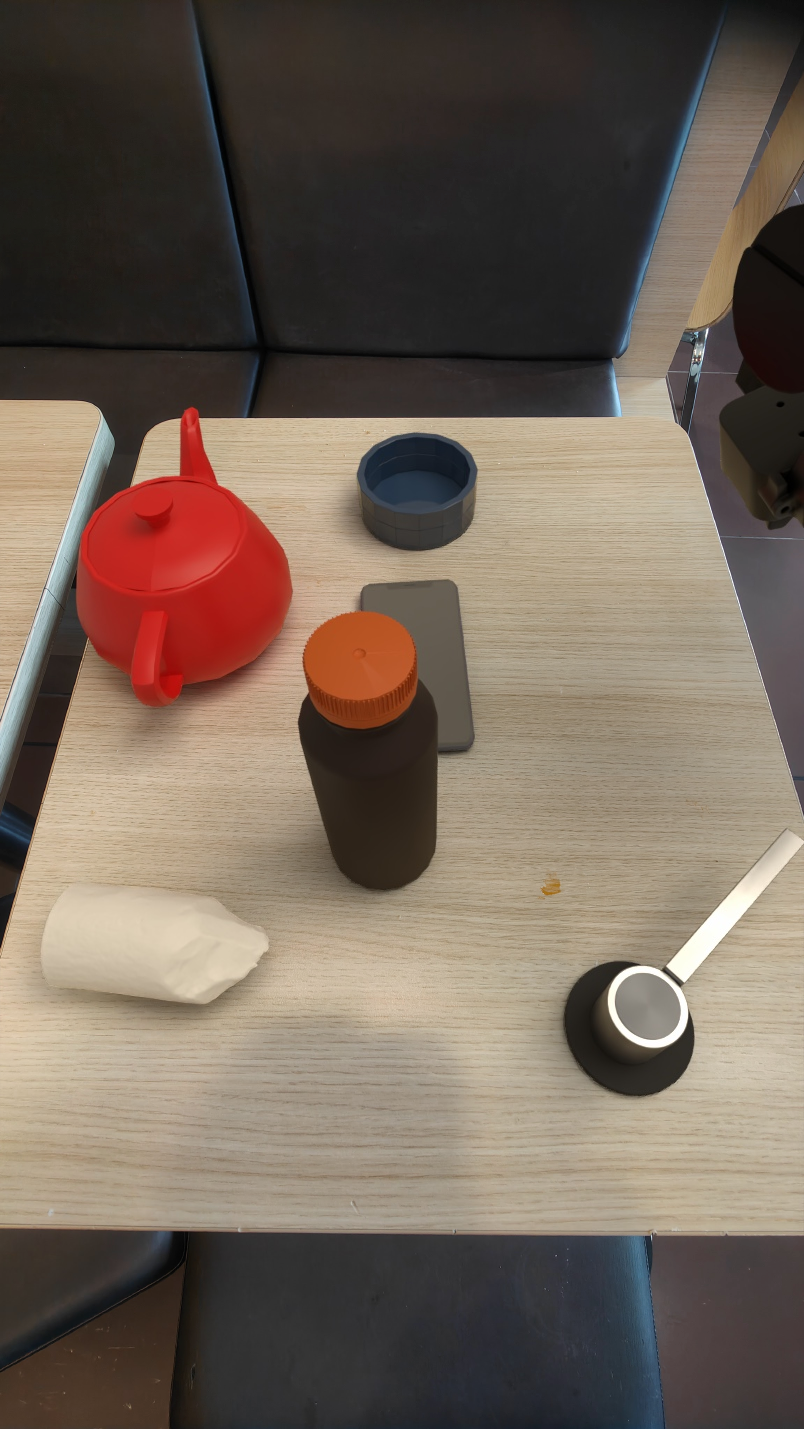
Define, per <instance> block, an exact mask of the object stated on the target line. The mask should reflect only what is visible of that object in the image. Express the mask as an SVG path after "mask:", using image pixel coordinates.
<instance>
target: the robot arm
mask: <svg viewBox="0 0 804 1429" xmlns="http://www.w3.org/2000/svg"><path fill="white" fill-rule="evenodd" d="M732 288H733V289H732V304H731V312H732V323H733V330H734V335H735V339H736V343H737V347H738V348H739V351H740V353H741V356H742V361H741V364H740V367H739V369H738V372H737V375H736V377H735V380H734V383H735V384H736V385H737V387H738V388H739V389H740V391H741V392H742V393H743V395H741V396H739V397H736V398H735V399H733V400H730V401H729V402H727V403H726V405H724V406H723V407H722V409H721V410H720V412H719V415H718V426H719V429H718V430H719V454H720V455H719V457H720V469H721V471H722V473H723V475H724V476H725V477H726V478H727V479H729V481H730V483H731V484H732V485H733V487H734V488H735V490H736V492H737V493H738V494H739V496H740V498H741V500H742V501H743V502H744V506H745V508H746V510H747V512H748V513H749V514H750V515H751V516H752V517H753V518H754V519H757V520H759V521H762V522H764V525H765V527H766V529H767V530H769V531H772V530H778V529H783V528H785V527H786V526H787V525H788V524H789V522H790V521H791V520H792V519H793V518H794V519H796V520H797V522H799V524H800V525H801V527H802V528H803V529H804V202H801V203H799V204H795V205H791V206H788V207H787V208H785V209H783V210H781V211H780V212H777V213H776V214H774V215H773V216H772V217H771V218H770V219H769V220H768V221H767V222H766V223H765V224H764V225H763V226H762V227H761V228H760V230H759V231H758V233H757V234H756V236H755V238H754V239H753V241H752V243H751V244H750V246H747V247H745V248H744V250H743V251H742V255H741V257H740V260H739V262H738V265H737V269H736V273H735V278H734V283H733V287H732Z"/></svg>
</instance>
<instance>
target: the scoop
mask: <svg viewBox="0 0 804 1429" xmlns="http://www.w3.org/2000/svg"><path fill="white" fill-rule="evenodd" d="M803 846H804V839H803V838H802V837H801V836H799V835H797V833H795V832H793V831H792V830H791V829H790V828H789V827H786V828H785V829H783V831H782V832H781V833H780V834H779V835H777V837H776V839H774V840H773V842H772V843H771V844H770V845H769V846H768V848H767V849H766V850H765V851H764V852H763V853H762V854H761V855H760V856H759V858H758V859H757V860H756V861H755V862H754V863H753V865H752V866H751V867H750V868H749V869H748V870H747V871H746V872H745V874H744V875H743V876H742V877H741V878H740V879H739V880H738V882H737V883H736V884H735V885H734V886H733V887H732V889H730V891H729V892H728V893H727V894H726V895H725V897H724V898H723V899H721V901H720V902H719V904H718V905H716V907H715V908H714V909H713V910H712V912H710V914H708V916H707V917H706V918H705V919H704V920H703V922H701V924H700V925H699V926H698V927H697V928H696V929H695V931H694V932H693V933H692V934H691V935H690V936H689V937H688V938H687V940H686V941H685V942H684V943H683V944H682V945H681V947H680V948H679V949H678V950H677V951H676V952H675V953H674V955H672V957H671V958H670V959H669V960H668V961H667V962H666V963H665V965H664V966H663V967H662V968H661V969H660V968H657V967H654V966H651V965H645V964H644V965H643V964H641V965H637V966H631V967H628V968H626V969H624V970H622V971H621V972H619V973H618V974H617V975H616V976H615V977H614V979H613V980H612V981H611V983H610V984H609V985H608V986H607V988H606V989H605V990H604V992H603V993H602V994H601V995H600V997H599V998H598V999H597V1000H596V1002H595V1004H594V1005H593V1008H592V1010H591V1014H590V1028H591V1032H592V1035H593V1038H594V1040H595V1042H596V1044H597V1045H598V1047H599V1048H600V1049H601V1050H602V1051H603V1052H604V1053H605V1054H606V1055H607V1056H608V1057H610V1058H611V1059H613V1060H615V1061H617V1062H619V1063H622V1064H627V1065H638V1064H642V1063H645V1062H647V1061H649V1060H650V1059H652V1058H653V1057H655V1056H656V1055H657V1054H659V1053H660V1052H662V1051H663V1050H665V1049H666V1048H668V1047H669V1046H670V1045H672V1044H673V1043H675V1042H676V1041H677V1040H678V1039H679V1038H680V1037H681V1036H682V1034H683V1033H684V1031H685V1029H686V1026H687V1023H688V1015H689V1012H688V1009H689V1004H688V1001H687V998H686V995H685V993H684V991H683V989H682V987H683V986H684V985H685V984H686V983H687V982H688V980H689V979H690V978H691V977H692V976H693V975H694V974H695V972H696V971H697V970H698V969H699V968H700V966H701V965H702V964H703V963H704V962H705V961H706V960H707V959H708V957H709V956H710V955H711V954H712V953H713V951H714V950H715V949H716V948H717V947H718V946H719V945H720V943H721V942H722V941H723V940H724V939H725V937H726V936H727V935H729V932H731V930H732V929H733V928H734V927H735V926H736V925H737V923H738V922H739V921H740V920H741V919H742V918H743V916H745V914H746V913H747V912H748V911H749V910H750V908H751V907H752V906H753V905H754V904H755V902H756V901H757V900H758V899H759V898H760V897H761V895H763V893H764V892H765V891H766V890H767V889H768V887H769V886H770V885H771V883H772V882H773V881H774V880H775V879H776V878H777V876H779V874H780V873H781V872H782V871H783V869H785V867H786V866H787V865H788V864H789V863H790V861H791V860H792V859H793V858H794V857H795V856H796V854H797V853H798V852H799V851H800V850H801V849H802V848H803Z"/></svg>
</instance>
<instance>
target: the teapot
mask: <svg viewBox="0 0 804 1429" xmlns="http://www.w3.org/2000/svg"><path fill="white" fill-rule="evenodd" d="M179 438H180V439H179V442H180V443H179V448H180V449H179V475H172V476H171V475H167V476H159V477H155V478H151V479H147V480H143V481H141V482H139V483H136V484H134V485H132V486H130V487H128V488H125V489H123V490H120V491H118V492H116V493H115V494H113V496H111V497H110V498H109V499H108V500H107V501H105V502H104V503H103V504H102V505H100V506H99V507H98V508H97V509H96V510H95V511H94V512H93V513H92V515H91V516H90V518H89V520H88V522H87V524H86V526H85V528H84V529H83V531H82V533H81V535H80V541H79V547H78V560H77V567H76V591H75V592H76V593H75V602H76V603H75V604H76V613H77V617H78V620H79V623H80V625H81V628H82V630H83V631H84V633H85V635H86V636H87V638H88V640H89V642H90V644H91V645H92V647H93V649H94V650H95V652H96V654H97V655H98V657H100V658H101V659H103V660H104V661H105V662H106V663H108V664H110V665H111V666H113V667H115V668H116V669H118V670H120V671H121V672H123V673H124V674H126V675H127V676H129V677H130V683H131V687H132V691H133V693H134V696H135V698H136V699H137V700H138V701H139V702H140V703H141V704H142V705H144V706H147V707H152V708H161V707H166V706H169V705H171V704H172V703H174V701H176V700H177V699H178V698H179V696H180V695H181V691H182V688H183V686H184V685H190V684H197V683H202V682H207V681H212V680H217V679H221V678H223V677H225V676H227V675H229V674H231V673H232V672H234V671H236V670H238V669H240V668H242V667H244V666H246V665H248V664H249V663H250V664H251V663H252V662H253V661H255V660H256V659H257V658H258V657H259V656H260V655H261V654H262V653H263V652H264V651H265V650H266V649H267V648H268V647H269V646H270V645H271V644H272V643H273V642H274V640H275V639H276V638H277V637H278V636H279V635H280V634H281V632H282V629H283V626H284V623H285V621H286V618H287V615H288V612H289V609H290V606H291V603H292V599H293V594H294V589H293V583H292V576H291V571H290V570H291V569H290V564H289V560H288V558H287V555H286V552H285V549H284V548H283V546H282V545H281V544H280V542H279V541H278V539H277V538H276V537H275V535H274V534H273V533H272V532H271V531H270V529H269V528H268V527H267V525H265V523H264V522H263V520H261V518H260V517H259V516H258V515H257V514H256V513H255V512H254V511H253V510H252V509H251V508H250V507H249V506H248V505H247V504H246V503H245V502H244V501H243V500H242V499H241V498H239V496H238V495H236V494H235V493H234V492H233V491H231V490H230V489H228V488H226V487H224V486H222V485H220V484H219V483H218V480H217V477H216V474H215V472H214V469H213V467H212V465H211V461H210V460H209V457H208V454H207V452H206V450H205V446H204V441H203V433H202V428H201V423H200V416H199V410H198V409H196V408H194V407H193V406H190V407H189V408H187V409H185V411H184V413H183V414H182V417H181V418H180V423H179Z"/></svg>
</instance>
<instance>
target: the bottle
mask: <svg viewBox="0 0 804 1429" xmlns="http://www.w3.org/2000/svg"><path fill="white" fill-rule="evenodd" d="M301 657H302V660H301V661H302V669H303V674H304V678H305V683H306V685H307V690H308V692H307V694H306V696H305V697H304V699H303V700H302V702H301V705H300V710H299V715H298V718H297V727H298V728H297V729H298V733H299V742H300V745H301V749H302V753H303V757H304V760H305V763H306V767H307V770H308V774H309V778H310V782H311V785H312V789H313V792H314V796H315V799H316V803H317V806H318V810H319V814H320V817H321V821H322V824H323V828H324V832H325V835H326V839H327V842H328V846H329V849H330V854H331V856H332V859H333V860H334V862H335V864H336V866H337V868H338V870H339V871H340V872H341V873H342V874H343V875H344V876H345V877H346V878H347V879H348V880H350V882H352V883H354V884H356V885H358V886H361V887H363V888H365V889H368V890H374V891H375V890H376V891H384V892H385V891H386V892H387V891H390V890H395V889H400V888H403V887H405V886H406V885H408V884H411V883H412V882H414V881H415V880H417V879H418V878H419V877H420V876H421V875H422V874H423V873H424V872H425V871H426V870H427V868H429V866H430V863H431V862H432V859H433V857H434V855H435V854H436V847H437V838H438V774H439V772H438V766H439V764H438V763H439V762H438V760H439V758H438V757H439V751H438V714H437V711H436V707H435V703H434V699H433V696H432V695H431V694H430V692H429V691H428V689H427V688H426V686H425V685H424V684H423V682H422V681H421V680H420V679H419V678H418V673H417V650H416V645H415V642H414V641H413V637H411V634H409V631H406V627H405V628H404V627H403V625H400V622H396V619H395V620H393V619H392V617H391V618H390V617H388V615H387V616H385V615H384V614H379V613H376V612H370V611H369V612H365V611H364V612H363V611H361V610H358V611H357V610H355V611H353V612H352V611H349V612H345V613H340V614H339V615H336V616H335V617H331V618H330V619H329V618H328V619H327V620H326V621H324V622H323V623H322V624H320V626H319V627H318V626H317V627H316V630H313V633H310V637H308V640H306V644H304V648H303V652H302V656H301Z"/></svg>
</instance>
